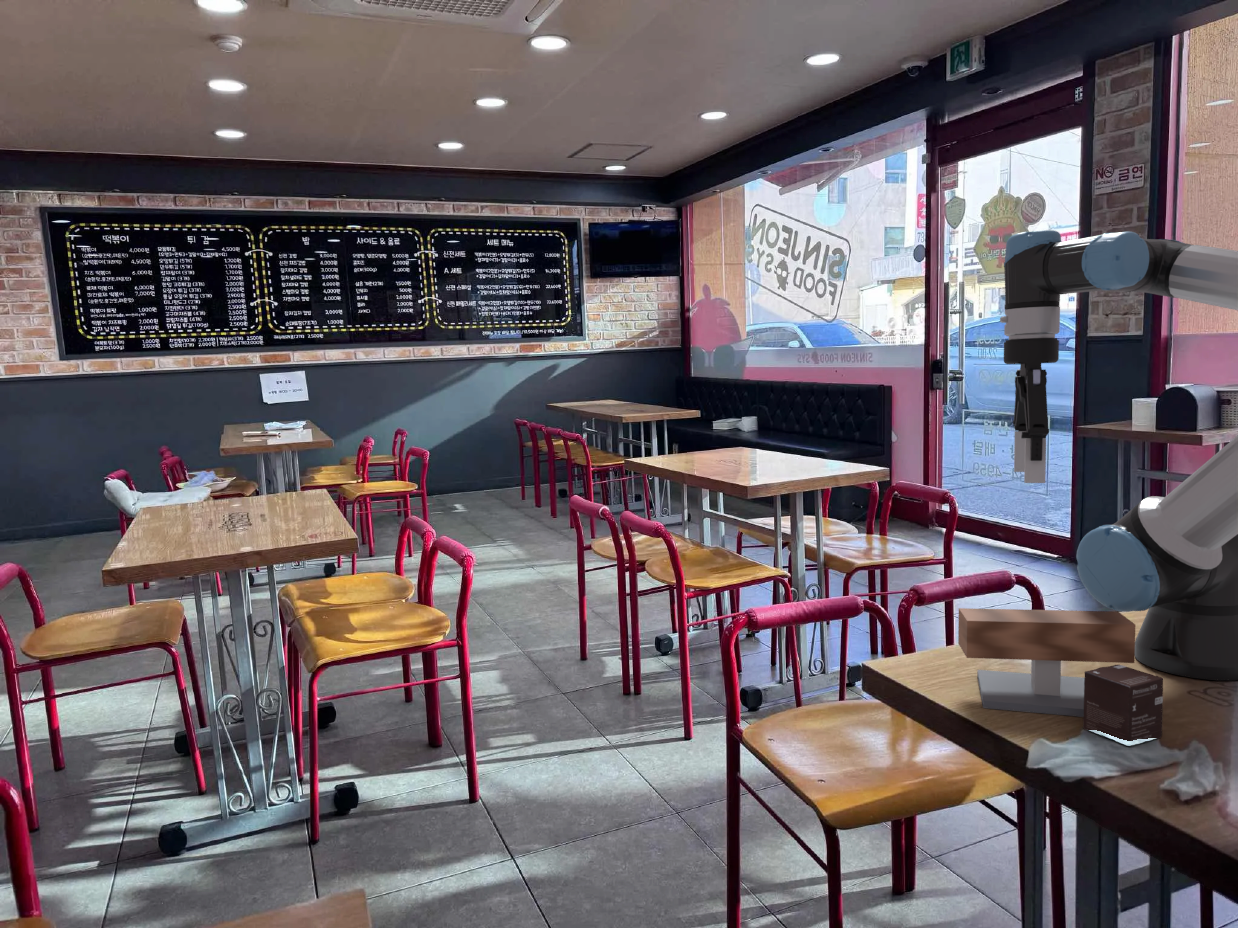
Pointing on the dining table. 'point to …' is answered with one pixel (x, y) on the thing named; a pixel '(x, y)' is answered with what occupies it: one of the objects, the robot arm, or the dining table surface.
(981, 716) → the dining table surface
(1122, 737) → the box
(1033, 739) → the dining table surface
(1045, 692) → the fulcrum
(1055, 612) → the cherry bar
